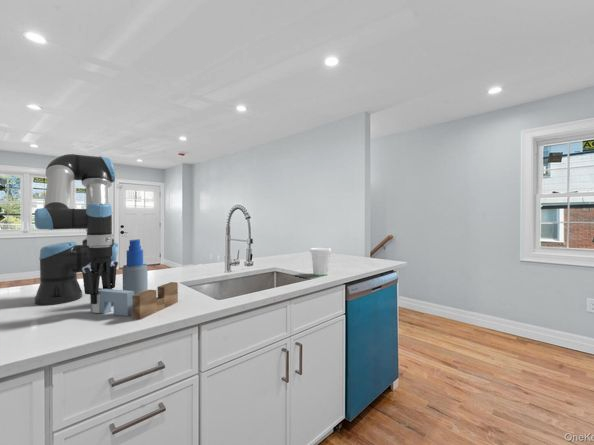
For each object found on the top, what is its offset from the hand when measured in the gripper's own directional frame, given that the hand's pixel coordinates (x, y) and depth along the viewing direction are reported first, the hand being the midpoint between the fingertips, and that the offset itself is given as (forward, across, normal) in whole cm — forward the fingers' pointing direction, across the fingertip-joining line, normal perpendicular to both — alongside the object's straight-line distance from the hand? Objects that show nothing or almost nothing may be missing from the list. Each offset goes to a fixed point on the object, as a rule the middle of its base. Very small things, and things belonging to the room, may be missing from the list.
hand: (100, 310), depth 106 cm
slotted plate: (0, 0, -5) cm, 5 cm away
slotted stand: (0, +7, -18) cm, 19 cm away
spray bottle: (+1, +15, -1) cm, 15 cm away
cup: (+1, +85, -67) cm, 108 cm away
